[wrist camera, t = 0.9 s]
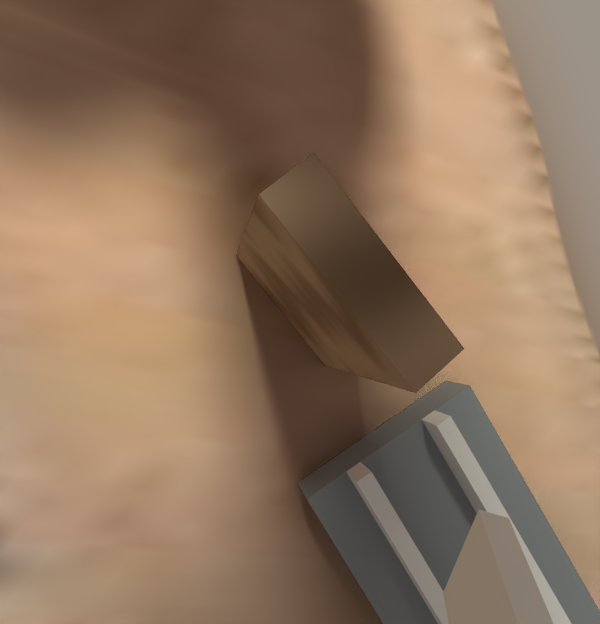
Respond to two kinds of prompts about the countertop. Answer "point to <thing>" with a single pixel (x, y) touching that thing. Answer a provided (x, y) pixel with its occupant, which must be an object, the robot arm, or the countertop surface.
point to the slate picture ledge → (434, 510)
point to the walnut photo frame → (342, 282)
